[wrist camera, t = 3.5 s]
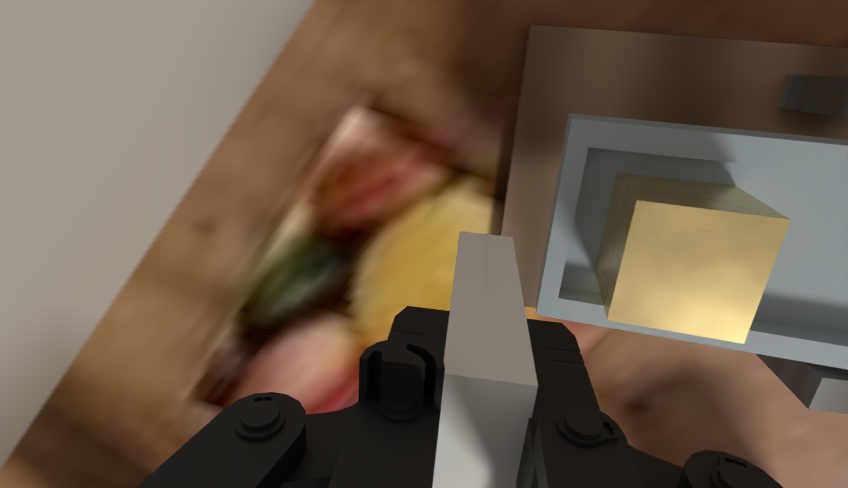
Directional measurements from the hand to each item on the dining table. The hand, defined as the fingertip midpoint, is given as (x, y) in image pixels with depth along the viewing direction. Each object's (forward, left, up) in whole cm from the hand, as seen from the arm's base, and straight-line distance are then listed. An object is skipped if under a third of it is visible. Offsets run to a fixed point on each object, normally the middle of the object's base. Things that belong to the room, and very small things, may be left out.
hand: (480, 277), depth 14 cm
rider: (+8, 0, -7) cm, 10 cm away
